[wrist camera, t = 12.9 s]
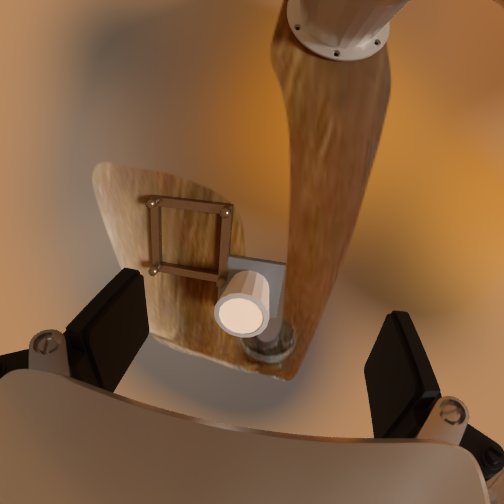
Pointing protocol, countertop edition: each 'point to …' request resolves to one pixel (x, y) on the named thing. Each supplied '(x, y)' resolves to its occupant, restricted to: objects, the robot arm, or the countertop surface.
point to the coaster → (264, 267)
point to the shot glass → (244, 305)
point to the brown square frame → (196, 205)
